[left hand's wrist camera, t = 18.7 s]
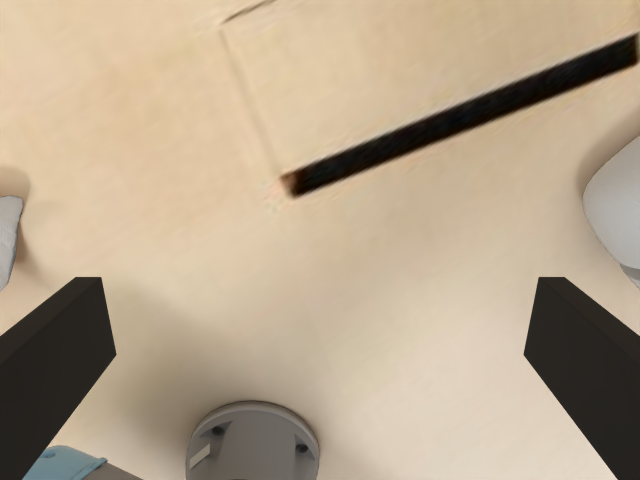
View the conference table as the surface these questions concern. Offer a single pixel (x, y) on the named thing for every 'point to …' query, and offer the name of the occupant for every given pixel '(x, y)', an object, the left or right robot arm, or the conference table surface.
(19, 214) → the red white irregular piece
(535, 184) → the conference table surface
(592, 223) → the projector
